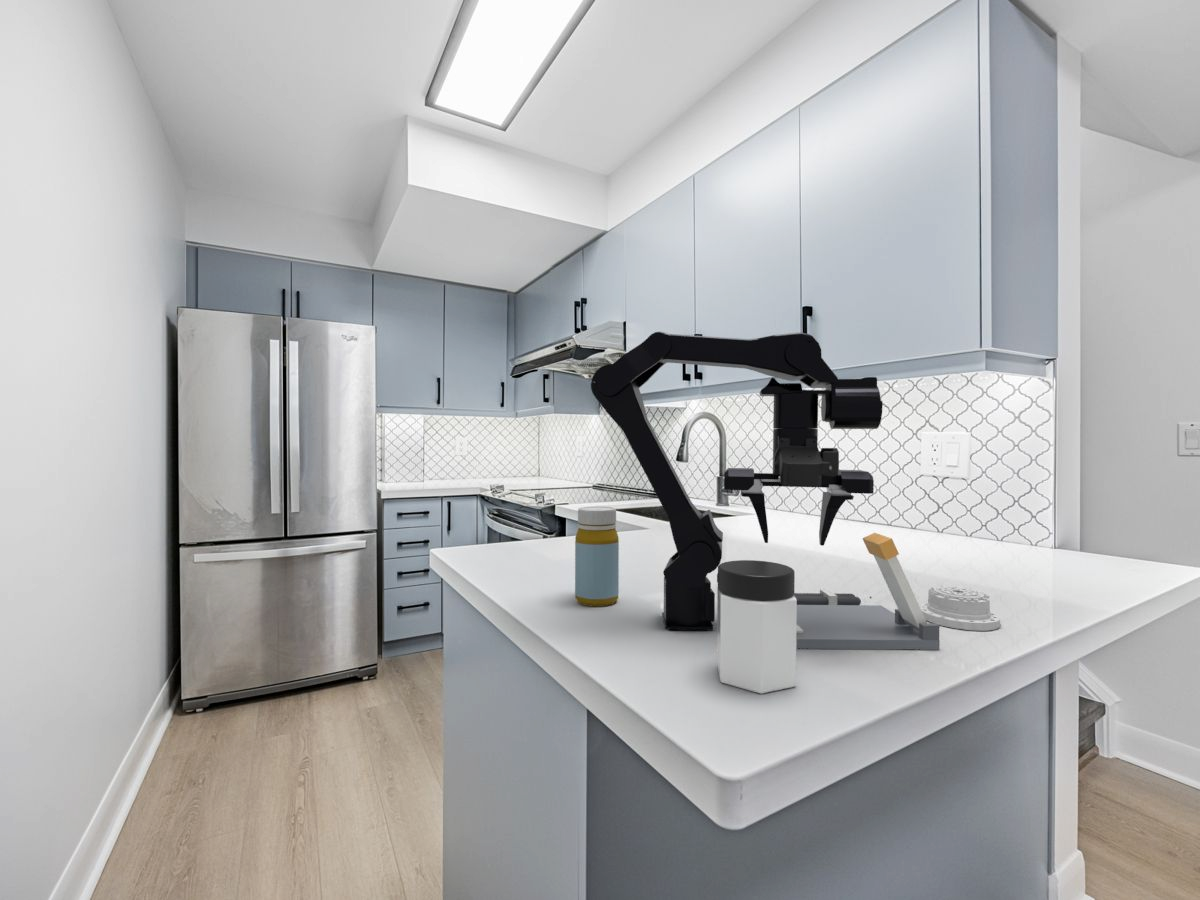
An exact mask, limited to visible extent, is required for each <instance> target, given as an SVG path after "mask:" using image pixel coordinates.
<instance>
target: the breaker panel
mask: <svg viewBox="0 0 1200 900" xmlns="http://www.w3.org/2000/svg"><path fill="white" fill-rule="evenodd" d="M940 646H941V645H940V625H938V624H935V623H932V622H929V623H928V622H927V623H919V631H918V630H916V629H915V628H913V627H911V626H910V625H908V624H906V623H905V622H904V619H903V618H902V616H901V614H900V612H899V610H898V608H895V609H894V612H893V611H892V610H889V609H888V608H887V607H884V606H883V605H879V604H878V605H875V604H874V605H871V604H869V605H868V604H867V605H866V604H865V605H863V604H860V605H797V629H796V650H799V648H800V650H801V649H802V648H803V649H802V650H804V648H805V650H812V649H813V650H886V649H893V650H894V649H895V650H896V649H900V651H901V649H902V651H903V649H915V650H914V651H917V650H918V651H939V650H940ZM807 648H808V649H807ZM919 649H920V650H919ZM895 650H894V651H895ZM896 651H897V650H896Z"/></svg>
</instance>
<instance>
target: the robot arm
mask: <svg viewBox="0 0 1200 900" xmlns="http://www.w3.org/2000/svg"><path fill="white" fill-rule="evenodd" d="M666 363H667V364H668V363H670V364H682V365H683V364H684V365H685V364H686V365H693V366H694V365H696V366H707V367H708V366H710V367H721V368H722V367H723V368H733V369H734V368H735V369H736V368H737V369H747V370H749V371H753V372H757V373H760V374H762V375H765V376H769V377H771V378H770V379H769V381H768V383H767V384H766V385H765V387H763V388H761V390H760V391H759V393H758V394H759V396H760V397H773V414H772V415H773V419H772V421H773V423H772V424H773V428H772V429H773V430H772V473H769V472H767V473H766V472H763V473H762V472H755V469H754V468H752V467H751V468H749V467H728V468H726V469H725V470H724V472H723V476H724V477H723V490H726V491H740V496H741V497H743V498H746V497H747V498H748V499H749V500H750V502H751V504H752V507H753V509H754V512H755V514H756V517H757V521H758V525H759V528H760V531H761V534H762V538H763V541H764V543H765V544H768V543H769V529H768V520H767V511H766V503H765V499H766V498H765V493H764V492H763V490H762V489H763V487H784V488H785V487H787V488H794V487H795V488H800V487H801V488H826V489H825V490H826V491H822V499H821V500H822V501H821V508H820V509H821V510H820V519H819V530H818V532H819V533H818V537H819V545H820V546H823V547H824V545H825V543H826V540H827V538H828V536H829V533H830V531H831V527H832V525H833V522H834V520H835V518H836V515H837V513H838V512H839V510H840V509H841V507H842V505H843V504H844V503H845V501H850V500H851V501H853V500H854V498H855V496H854V495H852V494H868V495H869V494H871V495H873V494H874V484H875V483H874V481H875V480H874V476H873V475H872V474H871V472H869V471H865V470H862V469H859V470H858V469H839V468H840V467H839V466H840V460H839V459H840V451H839V450H838V448H837V447H822V448H821V449H820V450H819V447H818V445H819V444H818V441H819V440H818V437H819V436H818V435H819V434H818V433H819V432H818V430H819V429H818V428H819V427H818V426H819V424H818V423H819V397H820V396H821V402H820V403H821V405H820V417H821V420H822V422H824V423H828V424H829V427H830V429H831V430H835V429H836V430H877V429H878V428H879V427H880V425H881V421H882V418H883V400H881V392H880V389H879V387H878V378H877V377H876V376H867V377H862V378H838V376H837V375H836V374H835V372H834V371H833V370H832V369H831V367H830V366H829V365H828V364H827V363H826V361H825V360H824V359H823V358H822V347H821V345H820V343H819V342H818V341H817V339H816V338H815V337H814V336H813V335H811V334H809V333H805V332H791V333H789V332H788V333H781V334H774V335H773V334H772V335H769V336H762V337H756V338H737V337H736V338H735V337H725V336H724V337H721V336H709V335H708V336H706V335H692V334H691V335H690V334H675V333H668V332H664V331H656V332H655V331H654V332H653V333H652V334H650V335H649V336H648V337H647V338H646V339H645V340H643V341H642V342H641V343H640V344H638V345H637V346H635V347H633V349H630V350H629V351H628V352H626V353H624V354H623V355H621V356H620V357H619V358H618V359H617V360H616V361H614V362H613V363H609V364H605V365H602V366H600V367H599V368H598V369H597V370H596V371H595V372H594V374H593V376H592V379H591V383H590V390H591V392H592V396H594V397H595V399H596V400H597V402H598V403H599V404H600V406H601V407H602V408H603V410H605V412H606V413H607V415H609V417H610V418H611V419H612V420H613V421H614V422H615V423H616V424H617V425H618V427H619V428H620V429H621V431H622V432H623V434H624V436H625V437H626V439H627V442H628V443H629V446H630V447H631V448H632V450H633V453H634V455H635V456H636V459H637V461H638V462H639V465H640V466H641V468H642V470H643V472H644V474H645V476H646V478H647V479H648V481H649V483H650V486H651V487H652V489H653V491H654V493H655V495H656V496H657V499H658V501H659V502H660V504H661V507H662V508H663V510H664V512H665V513H666V516H667V519H668V523H669V526H670V530H671V533H672V534H671V535H672V539H673V543H674V544H675V548H676V549H675V550H676V552H675V553H674V554H673V555H671V557H669V560H668V562H667V563H666V565H665V568H663V569H664V570H663V572H662V574H663V576H664V577H663V612H661V617H662V621H663V624H664V627H665V629H666V630H675V631H676V630H683V631H684V630H687V631H691V630H692V631H695V630H696V631H697V630H698V631H699V630H700V631H701V630H702V631H707V630H708V631H712V630H714V624H713V623H714V622H715V618H716V615H715V614H716V613H715V612H716V608H715V603H716V601H715V597H716V596H715V595H716V594H715V592H714V590H713V589H712V587H711V585H712V582H711V580H710V579H709V578H708V577H707V576H708V575H709V574H711V573H712V572H714V571H715V570H717V569H718V566H719V565H720V564H721V561H722V558H723V540H724V532H723V531H722V530H720V528H718V527H717V525H716V523H715V520H714V517H713V514H712V511H711V510H710V509H707V510H706V511H704V512H703V513H702V512H701V511H700V510H699V509H698V508H697V507H696V506H695V505H694V504H693V502H692V500H691V499H690V497H689V495H688V493H687V491H686V489H685V487H684V486H683V483H682V481H681V479H680V478H679V476H678V474H677V472H676V470H675V469H674V467H673V464H672V462H671V461H670V459H669V457H668V455H667V454H666V451H665V450H664V448H663V446H662V444H661V441H660V440H659V438H658V437H657V434H656V432H655V431H654V429H653V427H652V425H651V423H650V421H649V419H648V416H647V412H646V407H645V403H644V399H643V396H642V394H641V391H640V388H641V387H642V386H643V385H645V384H646V383H647V382H648V381H649V380H650V379H652V377H653V376H654V375H655V374H656V373H657V372H658V371H659V370H660V369H661V368H662V367H664V365H666ZM776 378H777V379H781V380H786V381H788V382H789V381H790V382H789V383H779V382H778V381H777V380H776ZM796 381H798V382H796ZM791 382H792V383H791ZM795 382H796V383H795ZM802 384H804V385H806V386H807V387H809V388H811V389H803V386H802Z"/></svg>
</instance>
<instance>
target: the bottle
mask: <svg viewBox="0 0 1200 900" xmlns="http://www.w3.org/2000/svg"><path fill="white" fill-rule="evenodd" d="M577 522H578V523H577V527H578V528H577V529H578V530H577V532H576V534H575V537H574V538H575V542H574V543H575V544H574V547H575V548H574V550H575V551H574V553H575V554H574V555H575V556H574V568H575V569H574V573H575V574H574V580H575V582H574V589H575V590H574V593H575V595H574V596H575V600H576V601H577V602H578V603H579V604H580V603H581V605H583V606H586V607H607V606H611V605H613V603H614V604H615V603H616V602H617V600H618V599H619V590H620V589H619V583H620V581H619V577H620V576H619V575H620V574H619V573H620V569H619V567H620V566H619V559H620V557H619V554H620V552H619V550H620V548H619V547H620V545H619V543H620V541H619V540H620V539H619V534H618V532H617V529H616V528H617V523H616V522H617V508H616V507H611V506H582V507H578V509H577Z"/></svg>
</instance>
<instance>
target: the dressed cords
mask: <svg viewBox="0 0 1200 900" xmlns="http://www.w3.org/2000/svg"><path fill="white" fill-rule="evenodd" d="M794 596H795V598H796V599H797V605H862V604H861V603H862V601H861V598H859V597H858V596H856V595H855V594H854V593H834V592H832V591H831V590H830V589H827V588H825V589H823V588H822V589H821V588H820V589H819V593H815V592H813V593H809V592H808V593H807V592H806V593H805V592H804V593H802V592H796V593H795V592H794Z"/></svg>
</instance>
